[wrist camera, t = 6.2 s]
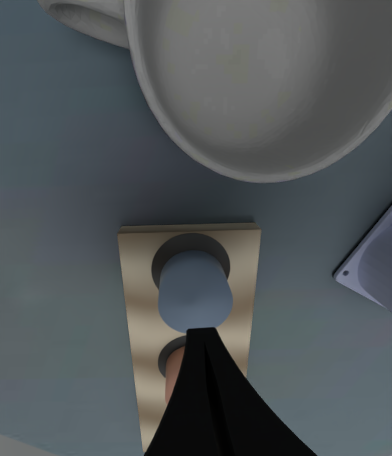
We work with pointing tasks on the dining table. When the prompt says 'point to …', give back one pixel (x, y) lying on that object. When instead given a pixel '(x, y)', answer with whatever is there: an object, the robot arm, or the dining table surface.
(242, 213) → the dining table surface
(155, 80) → the teacup
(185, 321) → the slate button
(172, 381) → the terracotta button
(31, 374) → the dining table surface
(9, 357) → the dining table surface
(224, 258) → the button panel
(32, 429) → the dining table surface
